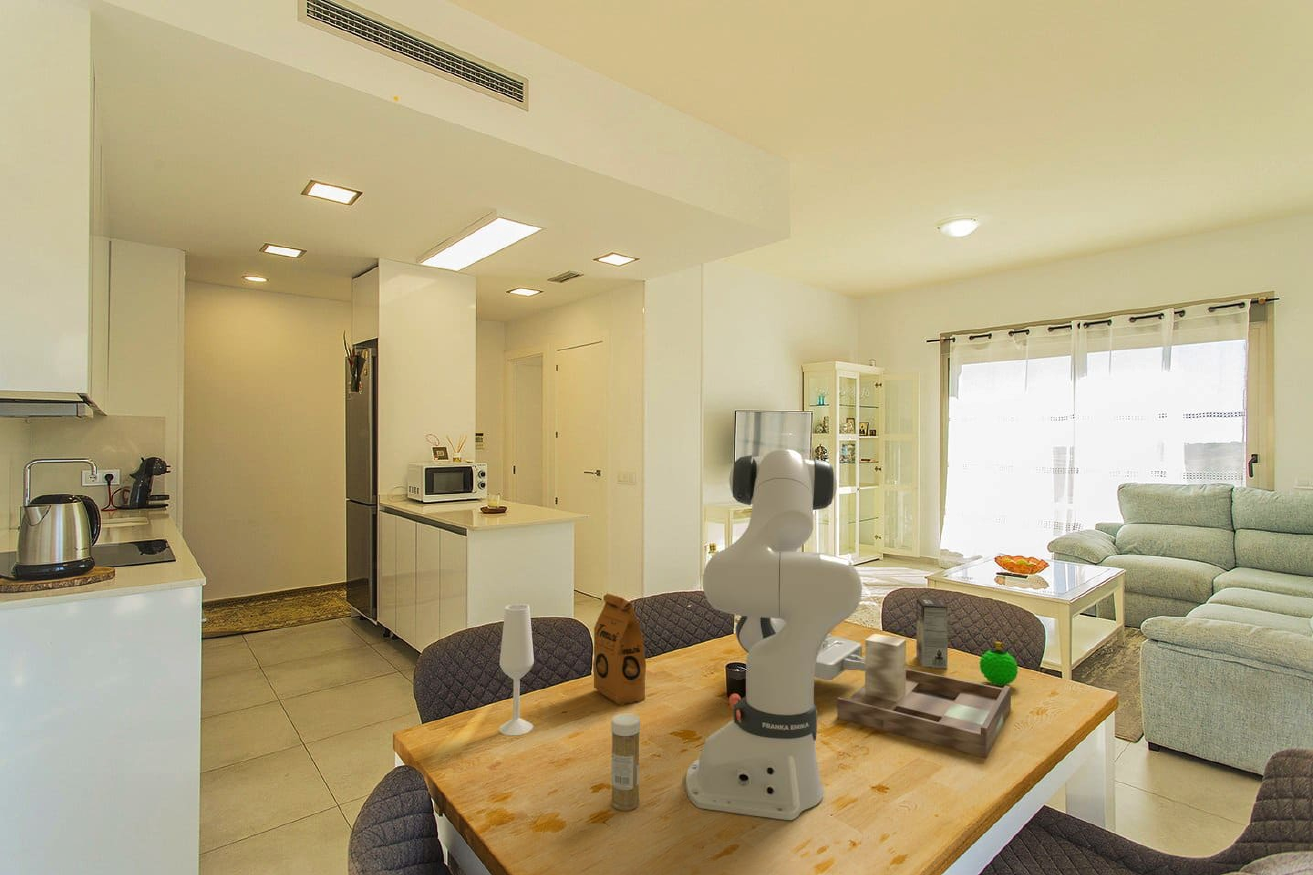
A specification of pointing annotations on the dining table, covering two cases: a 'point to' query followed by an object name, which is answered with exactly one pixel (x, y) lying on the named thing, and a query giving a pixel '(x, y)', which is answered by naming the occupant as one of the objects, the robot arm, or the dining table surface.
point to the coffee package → (619, 652)
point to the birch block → (885, 667)
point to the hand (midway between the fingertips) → (868, 665)
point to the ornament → (998, 666)
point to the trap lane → (935, 711)
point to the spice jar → (625, 761)
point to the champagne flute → (516, 659)
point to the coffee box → (932, 632)
